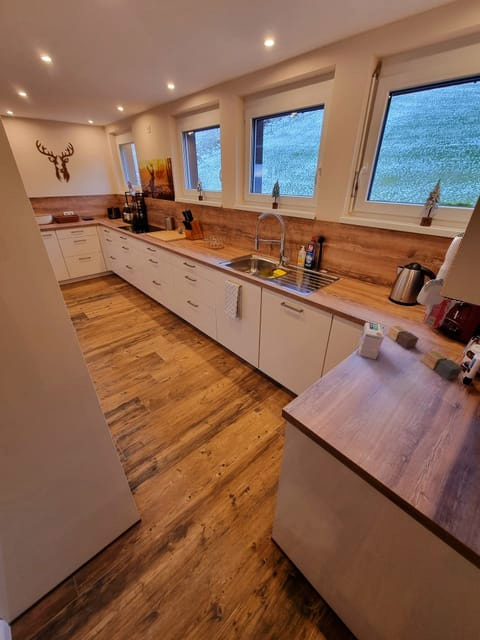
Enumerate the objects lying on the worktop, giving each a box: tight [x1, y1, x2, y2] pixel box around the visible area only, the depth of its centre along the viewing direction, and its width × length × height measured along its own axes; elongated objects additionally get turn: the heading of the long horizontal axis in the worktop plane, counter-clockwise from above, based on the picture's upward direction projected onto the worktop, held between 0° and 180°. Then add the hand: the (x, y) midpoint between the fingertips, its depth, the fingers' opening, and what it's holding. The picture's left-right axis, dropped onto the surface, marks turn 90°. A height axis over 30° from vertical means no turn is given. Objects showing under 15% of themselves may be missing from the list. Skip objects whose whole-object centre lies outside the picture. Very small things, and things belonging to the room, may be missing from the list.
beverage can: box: [422, 299, 452, 328], centre depth 100 cm, size 6×6×12 cm
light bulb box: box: [358, 321, 385, 360], centre depth 108 cm, size 11×7×11 cm, turn 157°
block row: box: [387, 325, 464, 381], centre depth 108 cm, size 5×31×5 cm, turn 13°
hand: (436, 313), depth 100 cm, fingers closed on beverage can, 6 cm apart
